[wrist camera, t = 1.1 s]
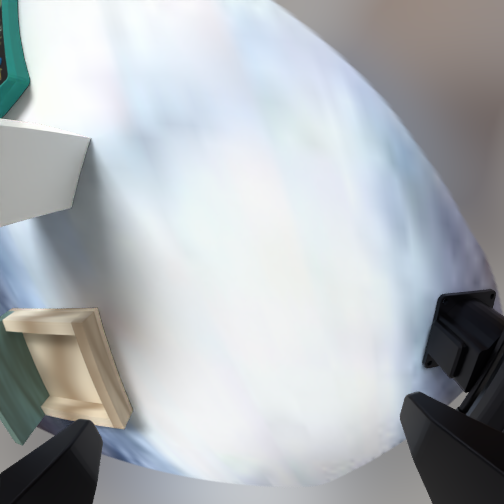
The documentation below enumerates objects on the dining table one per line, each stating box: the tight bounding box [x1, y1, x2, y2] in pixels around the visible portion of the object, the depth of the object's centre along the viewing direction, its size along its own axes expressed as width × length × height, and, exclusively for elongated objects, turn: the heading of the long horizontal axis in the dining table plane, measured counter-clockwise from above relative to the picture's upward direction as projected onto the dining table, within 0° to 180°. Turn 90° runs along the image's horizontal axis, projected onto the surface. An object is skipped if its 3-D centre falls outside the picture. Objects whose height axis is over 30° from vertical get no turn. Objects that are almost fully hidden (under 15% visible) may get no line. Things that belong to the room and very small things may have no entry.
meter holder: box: [0, 308, 133, 445], centre depth 18 cm, size 10×10×7 cm
